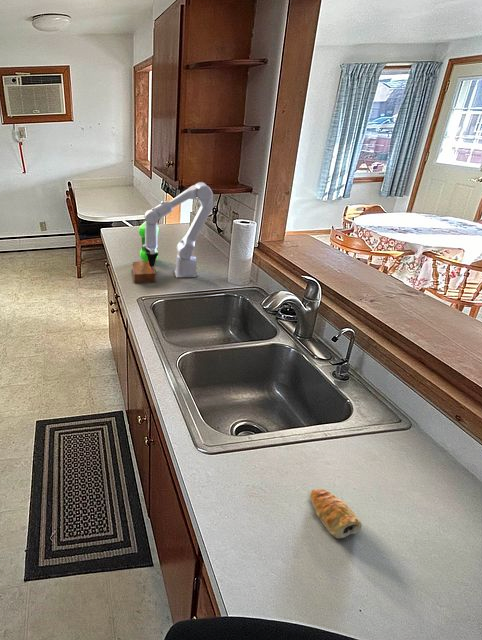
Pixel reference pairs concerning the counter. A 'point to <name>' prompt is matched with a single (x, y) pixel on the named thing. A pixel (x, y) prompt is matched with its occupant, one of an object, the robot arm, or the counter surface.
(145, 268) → the lid
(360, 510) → the counter surface
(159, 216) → the robot arm
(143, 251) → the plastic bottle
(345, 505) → the pastry
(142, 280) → the brown wooden box
